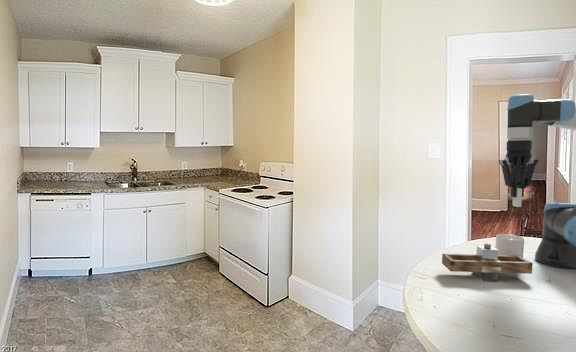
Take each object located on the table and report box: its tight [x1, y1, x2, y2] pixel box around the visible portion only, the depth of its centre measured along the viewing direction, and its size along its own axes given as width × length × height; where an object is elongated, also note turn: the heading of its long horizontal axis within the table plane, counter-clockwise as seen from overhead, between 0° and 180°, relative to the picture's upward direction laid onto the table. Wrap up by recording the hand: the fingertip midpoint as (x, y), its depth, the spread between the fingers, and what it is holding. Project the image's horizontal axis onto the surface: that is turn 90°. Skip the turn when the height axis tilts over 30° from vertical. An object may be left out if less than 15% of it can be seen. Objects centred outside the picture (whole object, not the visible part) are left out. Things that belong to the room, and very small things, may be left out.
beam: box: [441, 253, 534, 283], centre depth 126 cm, size 26×9×7 cm, turn 87°
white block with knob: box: [475, 243, 498, 261], centre depth 125 cm, size 5×4×6 cm
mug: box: [494, 233, 525, 258], centre depth 138 cm, size 12×9×11 cm
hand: (516, 206), depth 132 cm, fingers closed
